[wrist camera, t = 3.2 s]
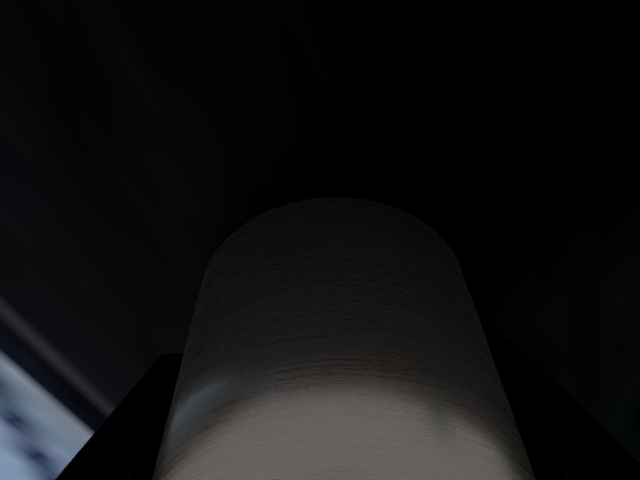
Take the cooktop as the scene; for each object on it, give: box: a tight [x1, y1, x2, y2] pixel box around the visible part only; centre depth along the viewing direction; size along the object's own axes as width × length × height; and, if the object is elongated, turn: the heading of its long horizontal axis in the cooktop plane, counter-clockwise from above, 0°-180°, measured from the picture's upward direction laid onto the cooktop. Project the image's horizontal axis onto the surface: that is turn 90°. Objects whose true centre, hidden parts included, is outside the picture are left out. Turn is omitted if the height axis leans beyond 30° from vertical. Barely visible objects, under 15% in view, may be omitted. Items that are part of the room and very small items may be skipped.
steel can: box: [152, 197, 536, 480], centre depth 8 cm, size 5×5×6 cm
